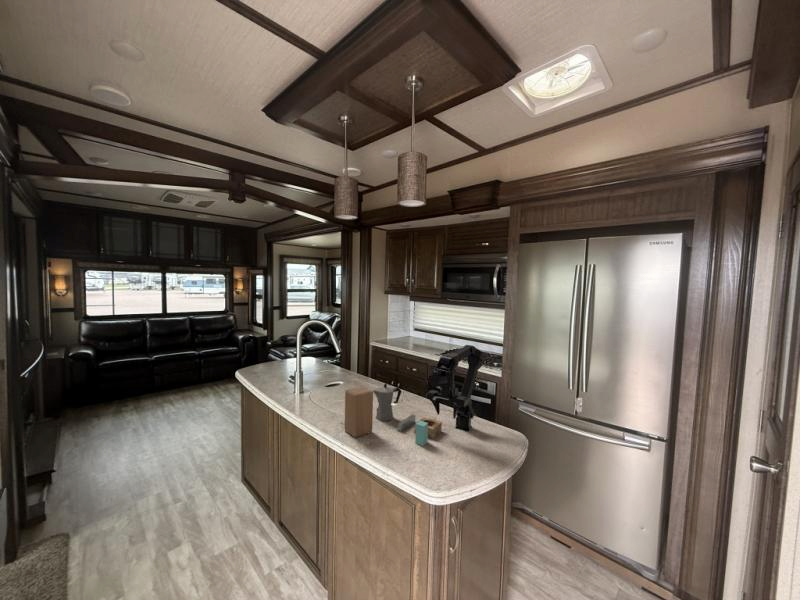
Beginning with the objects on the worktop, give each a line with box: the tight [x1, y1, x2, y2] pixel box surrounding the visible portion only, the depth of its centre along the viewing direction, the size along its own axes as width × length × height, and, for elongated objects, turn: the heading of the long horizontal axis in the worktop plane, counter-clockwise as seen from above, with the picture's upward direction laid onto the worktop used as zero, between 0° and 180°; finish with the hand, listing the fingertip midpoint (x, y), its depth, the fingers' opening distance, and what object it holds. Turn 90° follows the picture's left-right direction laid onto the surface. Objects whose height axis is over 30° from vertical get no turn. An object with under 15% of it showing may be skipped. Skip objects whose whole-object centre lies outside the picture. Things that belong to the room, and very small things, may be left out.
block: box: [344, 385, 374, 438], centre depth 150 cm, size 10×10×20 cm
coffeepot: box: [372, 383, 402, 422], centre depth 167 cm, size 15×9×18 cm, turn 107°
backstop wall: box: [397, 414, 416, 433], centre depth 157 cm, size 2×14×4 cm, turn 149°
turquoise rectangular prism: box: [414, 420, 429, 447], centre depth 140 cm, size 4×4×9 cm
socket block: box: [413, 417, 443, 440], centre depth 151 cm, size 10×10×4 cm
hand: (446, 416), depth 146 cm, fingers open, 8 cm apart
